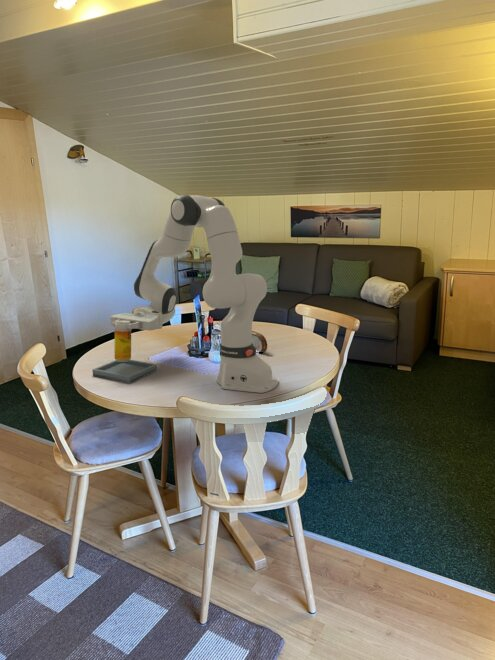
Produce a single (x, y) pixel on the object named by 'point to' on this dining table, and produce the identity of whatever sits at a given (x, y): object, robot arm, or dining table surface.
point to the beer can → (122, 341)
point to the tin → (259, 341)
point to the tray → (125, 370)
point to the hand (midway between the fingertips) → (120, 326)
